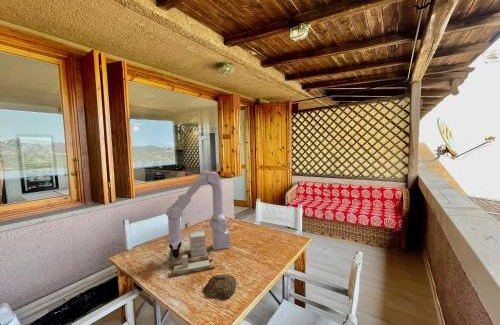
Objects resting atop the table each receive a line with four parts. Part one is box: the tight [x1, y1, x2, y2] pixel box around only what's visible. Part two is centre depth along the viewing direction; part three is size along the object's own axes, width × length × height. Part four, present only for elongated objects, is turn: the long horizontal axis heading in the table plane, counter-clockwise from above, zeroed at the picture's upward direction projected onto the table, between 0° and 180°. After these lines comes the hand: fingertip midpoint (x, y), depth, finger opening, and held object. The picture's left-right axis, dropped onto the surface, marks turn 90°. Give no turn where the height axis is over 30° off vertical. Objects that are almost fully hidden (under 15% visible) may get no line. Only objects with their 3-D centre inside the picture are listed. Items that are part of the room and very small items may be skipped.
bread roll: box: [203, 273, 237, 301], centre depth 86 cm, size 13×12×5 cm
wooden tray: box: [169, 248, 209, 267], centre depth 110 cm, size 18×10×5 cm, turn 108°
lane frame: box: [168, 248, 216, 278], centre depth 107 cm, size 20×20×1 cm
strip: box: [173, 255, 211, 273], centre depth 102 cm, size 16×5×6 cm, turn 108°
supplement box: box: [189, 230, 207, 258], centre depth 112 cm, size 7×7×13 cm
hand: (176, 257), depth 108 cm, fingers closed, pressing on wooden tray
